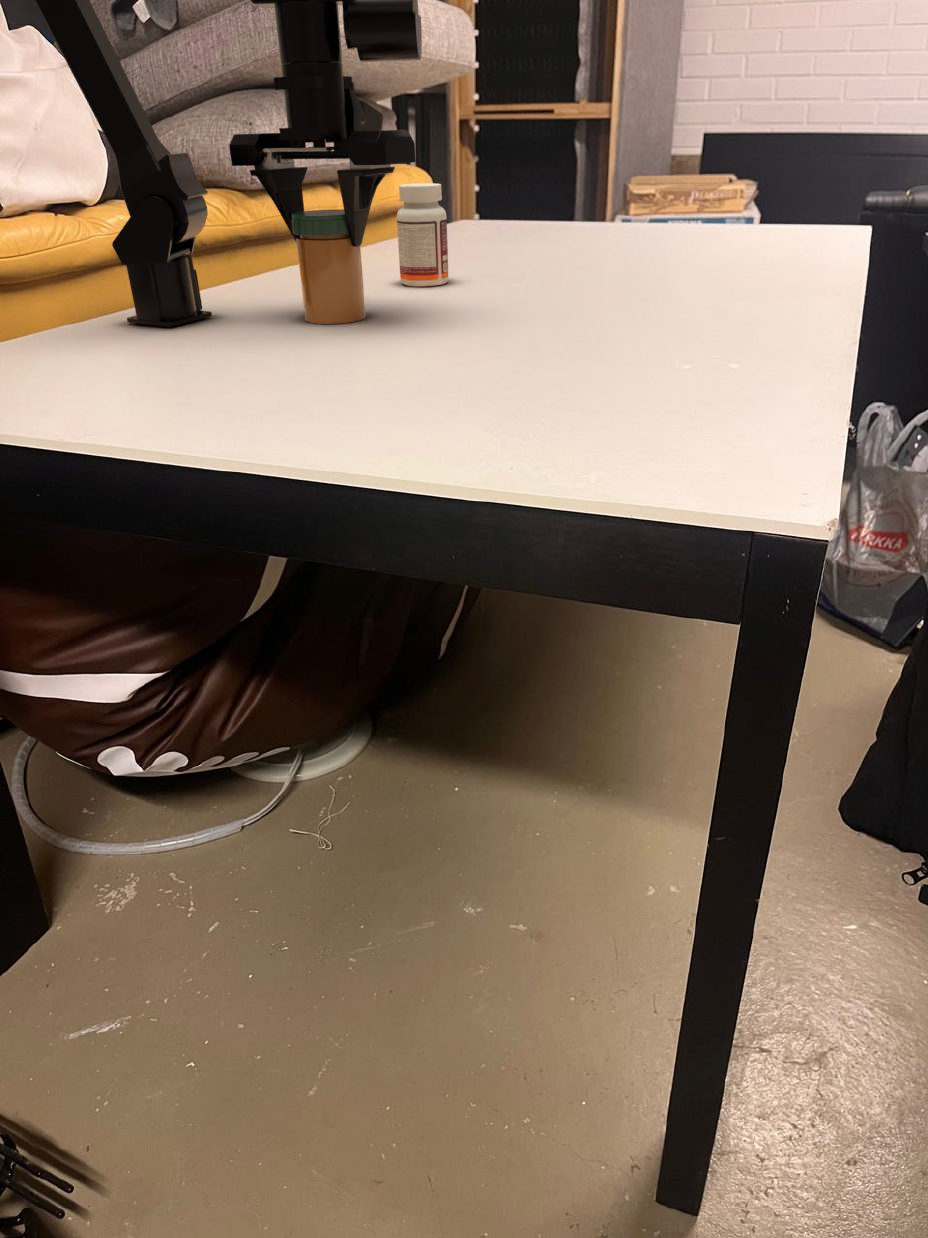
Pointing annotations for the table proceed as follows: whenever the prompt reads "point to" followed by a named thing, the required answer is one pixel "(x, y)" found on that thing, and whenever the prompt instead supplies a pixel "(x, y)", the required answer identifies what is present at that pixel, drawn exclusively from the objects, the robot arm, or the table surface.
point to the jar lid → (319, 222)
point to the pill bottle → (422, 235)
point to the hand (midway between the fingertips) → (328, 244)
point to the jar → (331, 279)
